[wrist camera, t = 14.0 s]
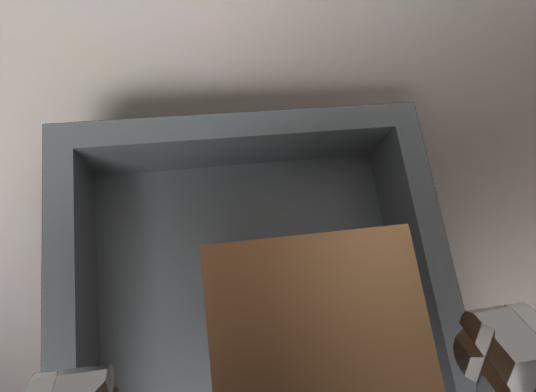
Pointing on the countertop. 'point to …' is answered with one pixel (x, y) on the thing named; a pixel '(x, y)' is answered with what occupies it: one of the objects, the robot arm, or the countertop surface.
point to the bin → (216, 225)
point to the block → (319, 314)
